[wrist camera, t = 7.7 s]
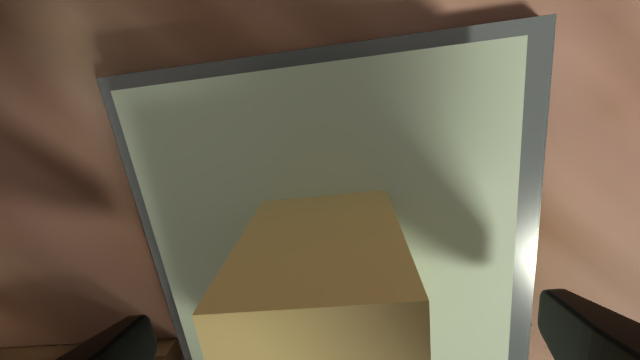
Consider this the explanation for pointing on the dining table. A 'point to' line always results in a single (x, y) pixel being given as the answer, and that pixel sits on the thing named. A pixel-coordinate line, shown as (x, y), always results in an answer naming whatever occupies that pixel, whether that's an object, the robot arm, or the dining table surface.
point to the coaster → (536, 59)
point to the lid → (338, 203)
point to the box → (44, 356)
